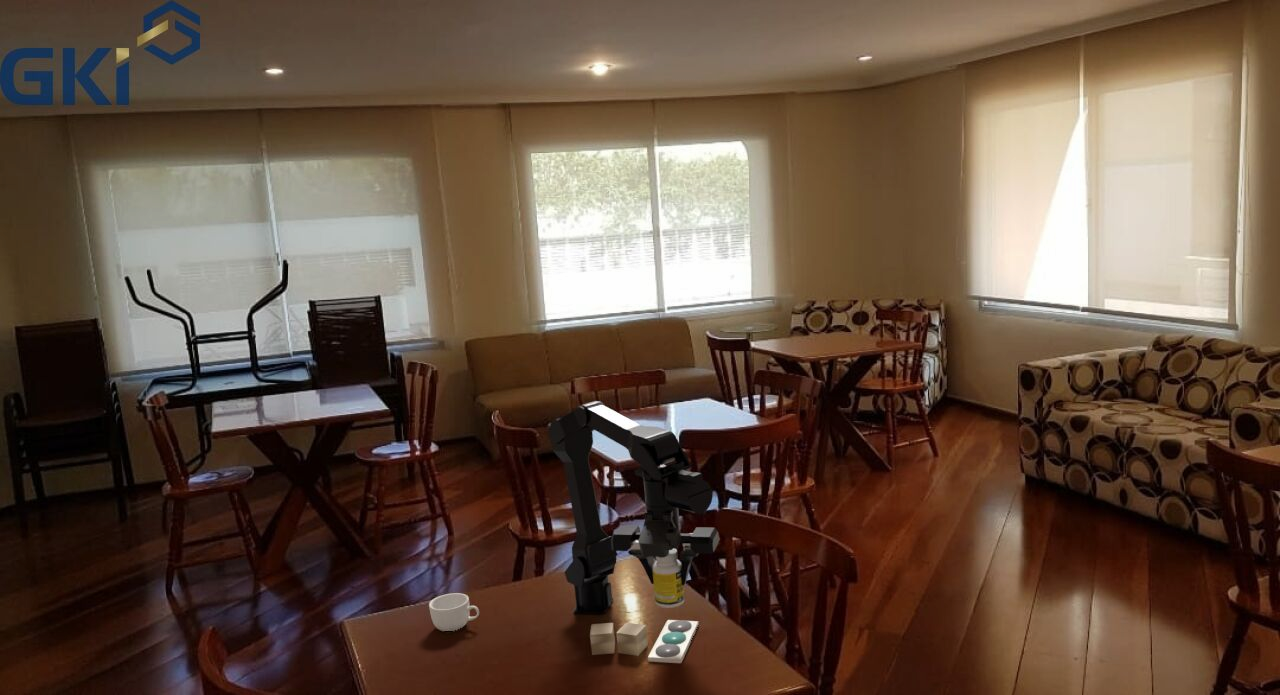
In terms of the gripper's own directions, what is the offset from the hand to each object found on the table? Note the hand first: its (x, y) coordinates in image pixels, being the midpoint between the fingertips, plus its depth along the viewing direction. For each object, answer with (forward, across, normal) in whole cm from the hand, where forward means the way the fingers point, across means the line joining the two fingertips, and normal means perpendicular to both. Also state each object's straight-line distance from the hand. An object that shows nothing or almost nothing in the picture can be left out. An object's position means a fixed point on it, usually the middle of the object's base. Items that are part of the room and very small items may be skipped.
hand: (668, 583), depth 164 cm
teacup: (+12, -45, +1) cm, 46 cm away
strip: (+11, 0, 0) cm, 11 cm away
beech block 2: (+12, -7, -3) cm, 14 cm away
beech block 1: (+12, -12, -4) cm, 17 cm away
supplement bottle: (+4, 0, 0) cm, 4 cm away
